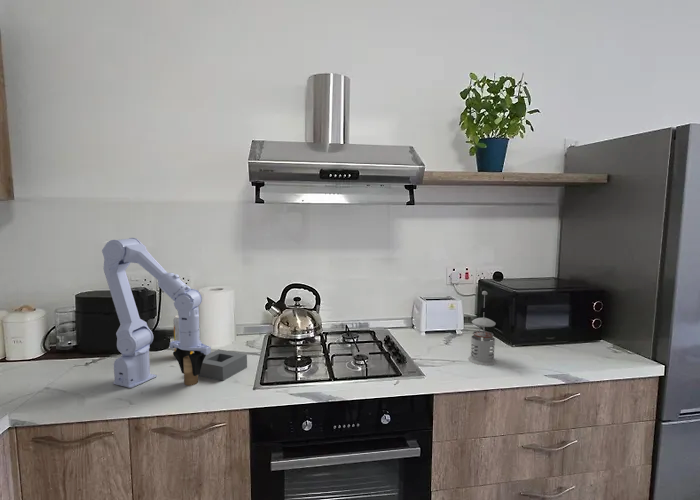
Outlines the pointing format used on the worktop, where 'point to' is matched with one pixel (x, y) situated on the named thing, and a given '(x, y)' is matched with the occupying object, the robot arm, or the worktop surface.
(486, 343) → the french press
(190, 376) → the dowel
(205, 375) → the socket block
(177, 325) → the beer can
